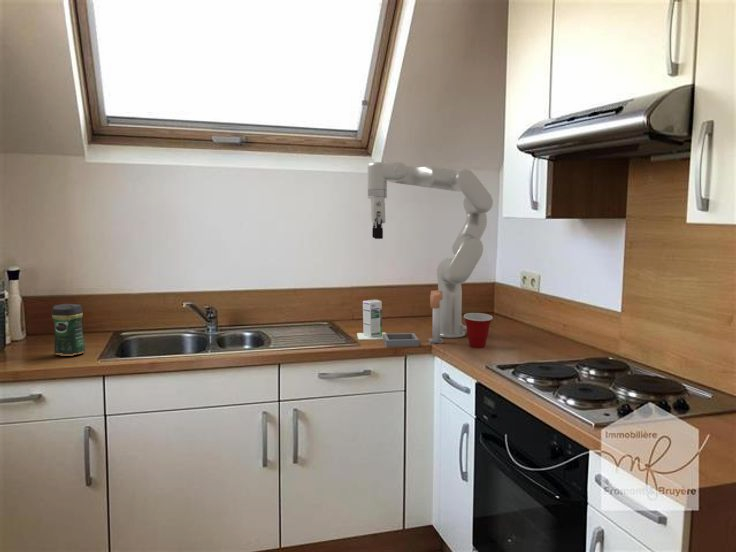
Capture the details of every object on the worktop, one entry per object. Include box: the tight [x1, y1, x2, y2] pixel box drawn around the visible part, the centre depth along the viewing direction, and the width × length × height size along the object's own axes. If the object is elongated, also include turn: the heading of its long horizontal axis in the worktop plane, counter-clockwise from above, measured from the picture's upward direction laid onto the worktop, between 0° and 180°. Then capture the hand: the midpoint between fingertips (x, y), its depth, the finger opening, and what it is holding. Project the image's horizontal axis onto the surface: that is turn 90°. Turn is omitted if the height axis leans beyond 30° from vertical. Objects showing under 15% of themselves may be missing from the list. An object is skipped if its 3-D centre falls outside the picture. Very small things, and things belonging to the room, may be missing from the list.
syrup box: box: [362, 299, 383, 337], centre depth 238 cm, size 6×6×14 cm
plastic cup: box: [463, 312, 494, 349], centre depth 219 cm, size 11×11×12 cm
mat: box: [356, 331, 387, 341], centre depth 239 cm, size 12×12×1 cm
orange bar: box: [429, 289, 442, 309], centre depth 216 cm, size 25×4×5 cm, turn 172°
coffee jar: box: [51, 303, 86, 354], centre depth 210 cm, size 10×8×19 cm
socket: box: [382, 301, 445, 348], centre depth 226 cm, size 23×12×16 cm, turn 94°
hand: (377, 238), depth 231 cm, fingers open, 9 cm apart
